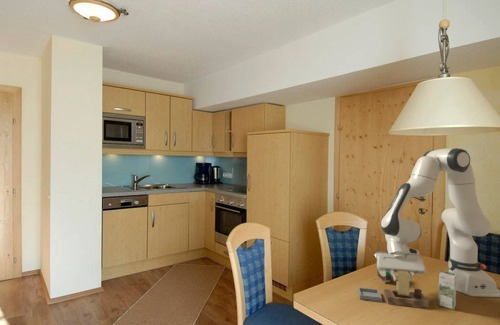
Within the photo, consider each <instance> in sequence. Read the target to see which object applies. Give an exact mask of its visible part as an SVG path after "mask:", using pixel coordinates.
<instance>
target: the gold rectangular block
mask: <svg viewBox="0 0 500 325" xmlns="http://www.w3.org/2000/svg"><path fill="white" fill-rule="evenodd" d="M395 274H396V275H395V276H397V277H398V281H395V282H396V287H395V288H396V292H397V293H398V295H404V296H409V292H410V282H409V277H410V276H411V275H410V274H409V272H408V271H405V270H396V272H395Z"/></svg>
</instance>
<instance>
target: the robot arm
mask: <svg viewBox="0 0 500 325" xmlns="http://www.w3.org/2000/svg"><path fill="white" fill-rule="evenodd" d="M440 172H445V173H446V174H447V179H446V181H447V189H448V198H449V200H450V201H451V203H452V204H453V207H449V208H446V209H445V210H443V212H442V213H441V221H442V222H443V224H444V225H445V228H446V231H447V235H448V238H449V257H448V272H451V273H456V274H457V281H456V292H459V293H463V294H465V295H467V296H470V297H484V298H485V297H486V298H500V289H499V288H498V287H497V283H496V281H495V279H493V277H491V275H489V274H487V272H485V271H484V270H486V269H487V267H488V266H487V265H485V264H484V263H481V262H479V261H478V256H479V255H478V254H479V253H478V250H479V249H478V248H479V247H478V244H477V243H476V242H475V240H474V238H473V237H484V236H486V235H488V234H490V232H491V229H492V224H491V221H490V220H489V218H488V217H486V215H485V214H484V212H483V211H482V208H481V206H480V203H479V200H478V198H477V189H476V180H475V179H476V178H475V174H474V170H473V167H472V165H471V156H470V154H469V153H468V151H467V150H465V149H462V148H456V147H455V148H449V147H447V148H440V149H432V150H427V151H426V152H424V154H423V155H422V156H421V157H419V158H418V159H417V161H416V162H415V164H414V167H413V169H412V171H411V174H410V176H409V179H408V180H407V181H406V182H405V183H403V184H401V186H400V187H399V188H398V190H397V192H396V193H395V196H394V198H393V199H392V201H391V204H390V205H389V207H388V209H387V210H386V213H385V214H384V215H383V216H382V218H381V220H380V228H381V230H382V232H383V234H384V238H385V241H386V249H387V250H386V251H380V250H378V251H376V252H375V254H374V256H375V259H376V269H378V270H379V271H389V272H390V274H391V275H392V279H393V281H394V282H396V281H398V277H397V276H396V275H395V274H396V270H405V271H408V272H409V274H410V277H409V283H411V284H412V283H413V276H414V275H415V274H416V275H424V274H425V273H426V271H427V269H426V268H427V267H426V264H425V262H424V260H423V258H422V257H421V256H420V251H419V250H418V249H415V248H412V247H409V246H408V245H407V244H410V243H413V242H416V241H417V240H419V239H420V238H421V236H422V227H421V225H420V224H419V223H418V222H416V221H413V220H410V219H407V218H405V217H402V216H401V213H402V211H403V209H404V207H405V205H406V204H407V201H409V200H410V199H412V198H417V197H418V198H419V197H425V196H429V195H430V194H432V193H433V192H434V190H435V188H436V185H437V182H438V178H439V174H440Z"/></svg>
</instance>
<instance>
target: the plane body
mask: <svg viewBox="0 0 500 325" xmlns="http://www.w3.org/2000/svg"><path fill="white" fill-rule="evenodd" d="M383 290H384V291H383V293H384V294H383V295H384V299H385V300H386V303H387V305H397V306H404V307H411V308H412V307H413V308H420V309H427V310H428V309H429V301H428V299H427V298H426V297H425V295H424V293H423V292H422V289H421V288H414V289H413V291H409V296H404V295H398V293H397V292H396V290H395V289H387V288H385V289H383Z"/></svg>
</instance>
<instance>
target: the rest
mask: <svg viewBox="0 0 500 325" xmlns="http://www.w3.org/2000/svg"><path fill="white" fill-rule="evenodd" d="M357 292H358V298H359V300H361V301H370V302H377V303H378V302H379V303H382V302H383V297H382V295H381V292H380V289H378V288H368V287H360V286H359V287H357Z"/></svg>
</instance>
